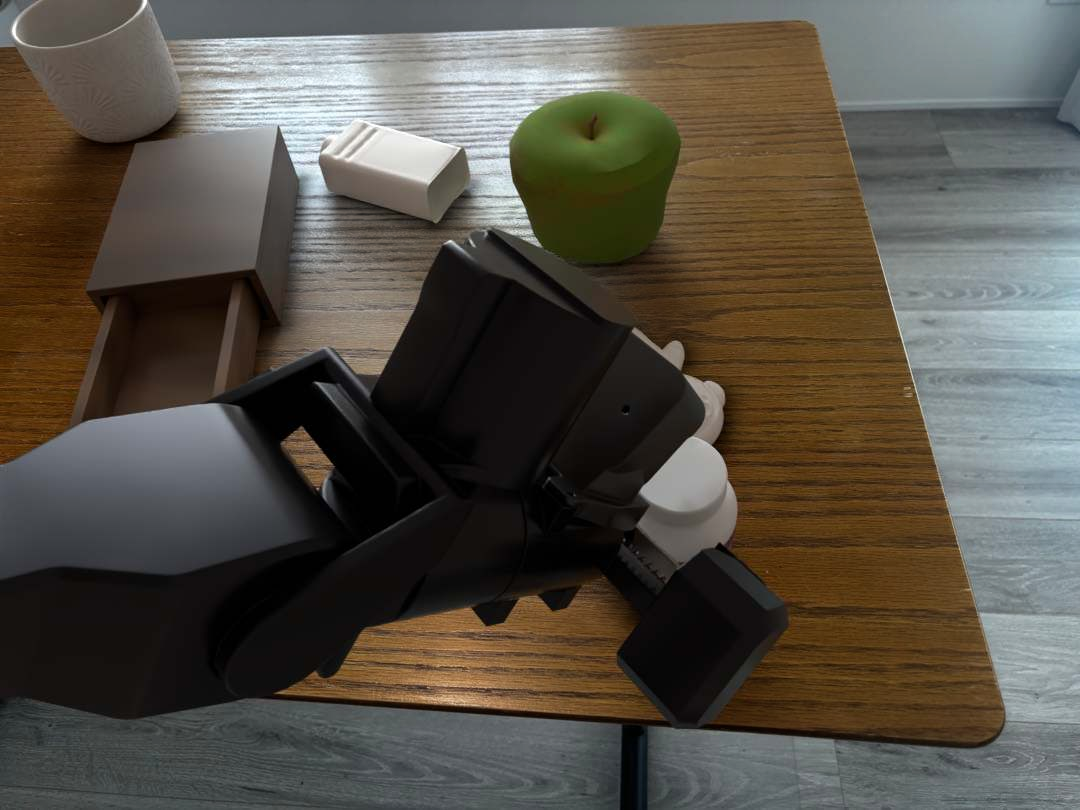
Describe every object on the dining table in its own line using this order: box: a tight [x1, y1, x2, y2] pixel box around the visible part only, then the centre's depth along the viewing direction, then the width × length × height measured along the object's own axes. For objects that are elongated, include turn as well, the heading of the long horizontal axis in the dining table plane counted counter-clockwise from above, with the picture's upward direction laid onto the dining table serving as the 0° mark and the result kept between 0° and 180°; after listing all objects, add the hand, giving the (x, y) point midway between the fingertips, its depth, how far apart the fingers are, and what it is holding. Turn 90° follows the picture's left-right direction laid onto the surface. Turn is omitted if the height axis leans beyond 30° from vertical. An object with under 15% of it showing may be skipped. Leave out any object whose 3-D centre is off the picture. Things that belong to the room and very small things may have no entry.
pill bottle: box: [624, 437, 738, 581], centre depth 45 cm, size 6×6×11 cm
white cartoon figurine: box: [632, 326, 726, 446], centre depth 57 cm, size 9×12×3 cm
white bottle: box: [317, 119, 472, 224], centre depth 73 cm, size 6×13×4 cm, turn 62°
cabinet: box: [85, 124, 300, 329], centre depth 69 cm, size 18×12×6 cm
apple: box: [508, 90, 682, 265], centre depth 64 cm, size 12×12×11 cm
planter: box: [9, 0, 182, 144], centre depth 81 cm, size 12×12×11 cm
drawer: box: [67, 277, 263, 429], centre depth 59 cm, size 19×11×4 cm, turn 6°
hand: (672, 509), depth 43 cm, fingers open, 9 cm apart
